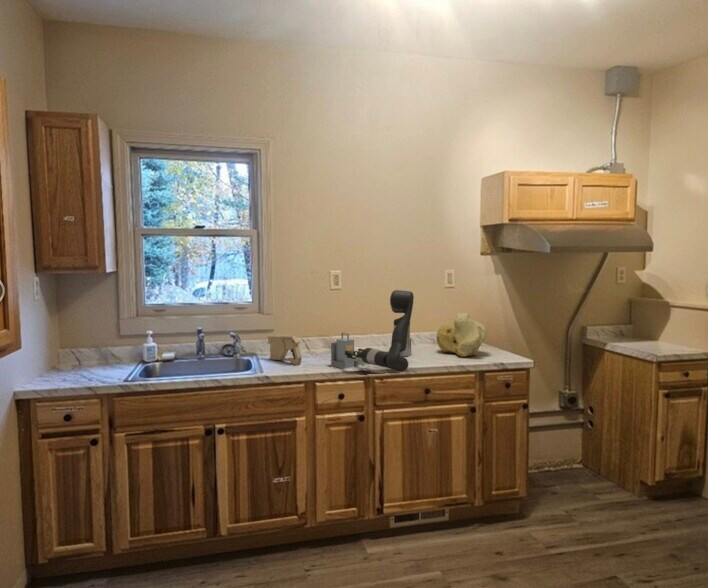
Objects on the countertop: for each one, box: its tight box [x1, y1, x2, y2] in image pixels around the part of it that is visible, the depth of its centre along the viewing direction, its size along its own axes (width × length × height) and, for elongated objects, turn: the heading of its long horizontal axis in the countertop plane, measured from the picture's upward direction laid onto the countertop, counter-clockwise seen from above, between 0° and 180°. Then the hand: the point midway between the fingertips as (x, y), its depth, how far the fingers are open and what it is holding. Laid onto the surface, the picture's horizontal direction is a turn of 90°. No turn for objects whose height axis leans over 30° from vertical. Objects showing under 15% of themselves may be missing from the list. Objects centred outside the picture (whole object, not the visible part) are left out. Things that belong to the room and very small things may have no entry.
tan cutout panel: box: [267, 335, 303, 366], centre depth 269 cm, size 24×3×15 cm, turn 47°
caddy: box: [335, 332, 355, 369], centre depth 257 cm, size 6×7×17 cm
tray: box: [354, 358, 370, 366], centre depth 269 cm, size 12×13×3 cm
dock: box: [330, 341, 359, 370], centre depth 258 cm, size 10×10×12 cm
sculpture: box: [436, 311, 487, 358], centre depth 286 cm, size 25×26×30 cm
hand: (352, 351), depth 253 cm, fingers open, 8 cm apart
